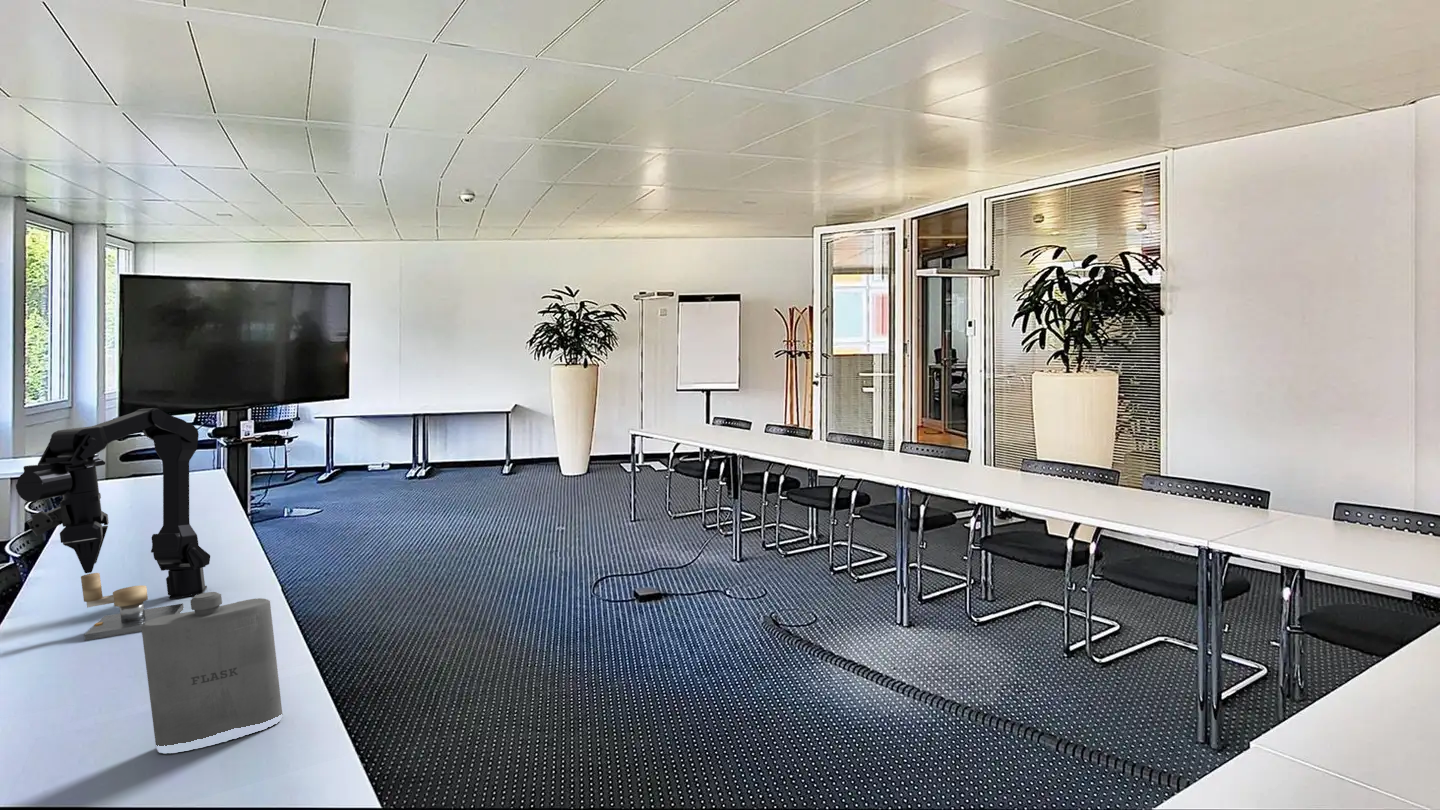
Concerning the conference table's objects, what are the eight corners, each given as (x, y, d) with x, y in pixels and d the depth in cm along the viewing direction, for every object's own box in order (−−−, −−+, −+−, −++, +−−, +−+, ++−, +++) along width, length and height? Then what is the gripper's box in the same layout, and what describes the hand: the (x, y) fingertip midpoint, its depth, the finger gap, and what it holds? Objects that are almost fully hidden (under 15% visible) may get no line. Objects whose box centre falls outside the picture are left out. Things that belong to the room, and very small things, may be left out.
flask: (155, 762, 105) (136, 612, 104) (157, 745, 110) (140, 601, 109) (284, 727, 113) (269, 587, 112) (281, 712, 118) (266, 578, 117)
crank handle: (148, 595, 170) (144, 563, 169) (146, 602, 165) (142, 569, 164) (87, 606, 164) (82, 573, 164) (83, 613, 159) (78, 579, 159)
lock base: (183, 608, 175) (181, 588, 175) (169, 626, 163) (167, 605, 163) (105, 621, 169) (102, 600, 169) (84, 640, 158) (82, 618, 157)
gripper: (35, 492, 165) (45, 567, 166) (20, 504, 149) (31, 587, 151) (103, 484, 171) (113, 556, 172) (95, 494, 155) (106, 574, 157)
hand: (90, 568), depth 163 cm, fingers open, 9 cm apart
